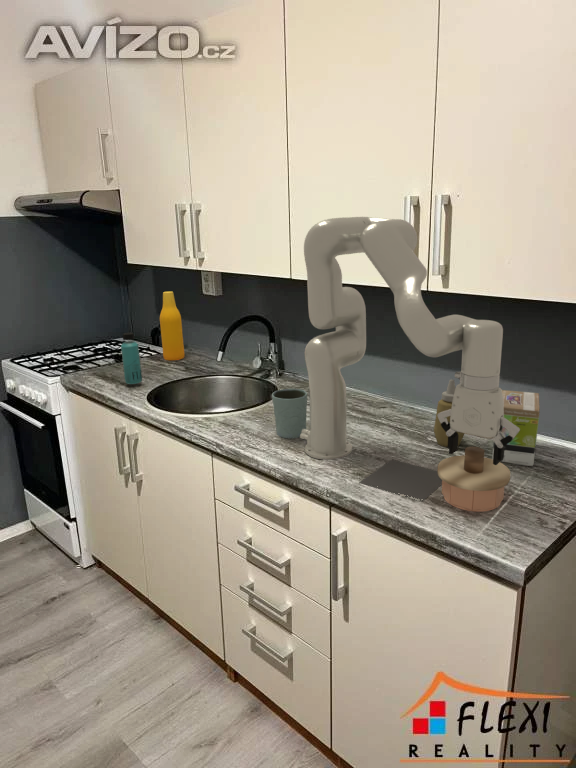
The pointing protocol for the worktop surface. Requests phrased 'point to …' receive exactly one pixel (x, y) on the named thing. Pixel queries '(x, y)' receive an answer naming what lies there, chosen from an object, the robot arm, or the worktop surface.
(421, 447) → the worktop surface
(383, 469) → the mat
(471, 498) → the bowl
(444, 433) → the squeeze bottle
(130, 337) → the beverage bottle
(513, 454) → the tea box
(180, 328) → the beer bottle
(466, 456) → the lid
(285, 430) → the blue-green cup
